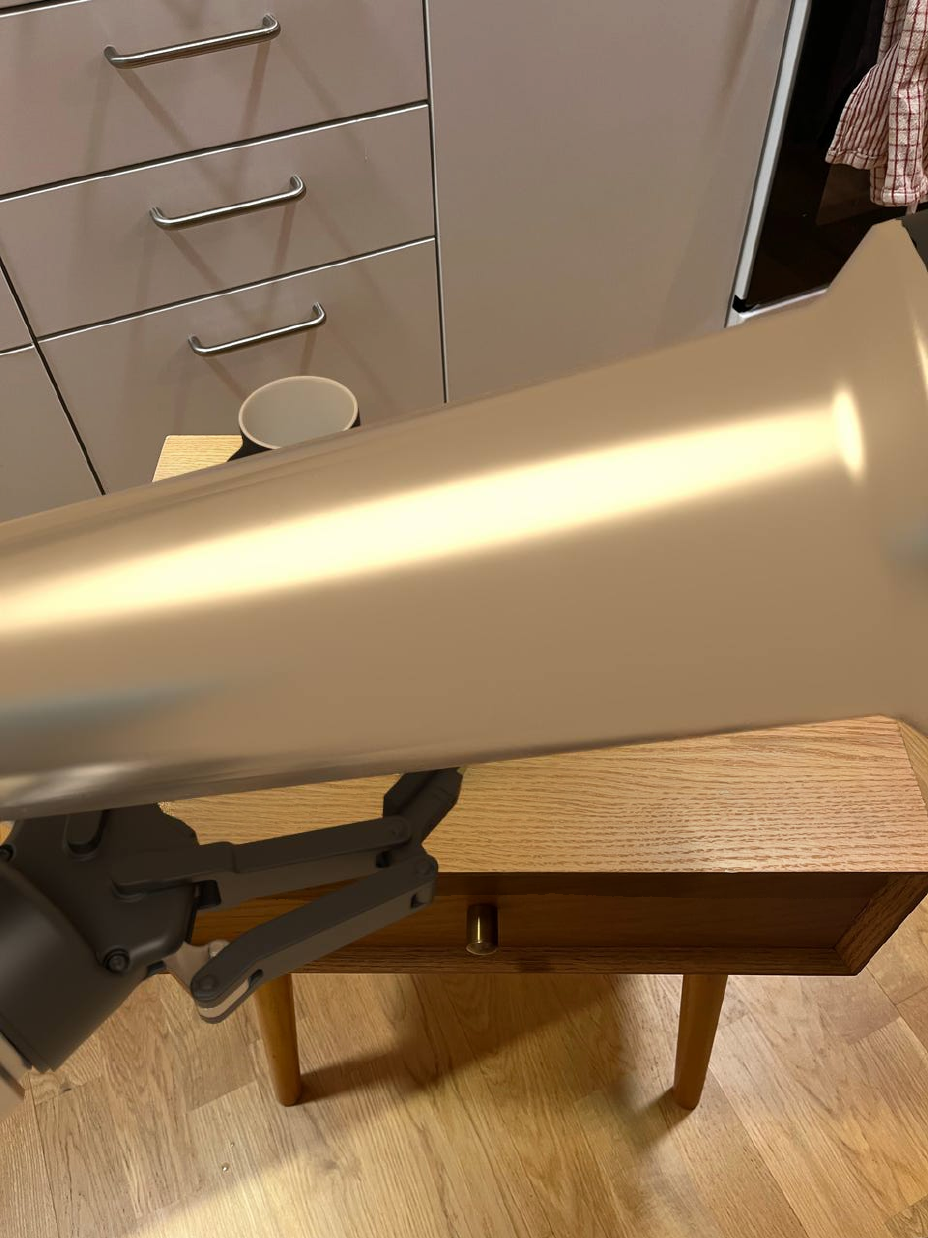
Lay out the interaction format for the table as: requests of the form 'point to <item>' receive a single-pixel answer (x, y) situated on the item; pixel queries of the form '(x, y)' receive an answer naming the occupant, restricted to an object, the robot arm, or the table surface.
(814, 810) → the table surface
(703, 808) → the table surface
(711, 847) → the table surface
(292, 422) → the mug
